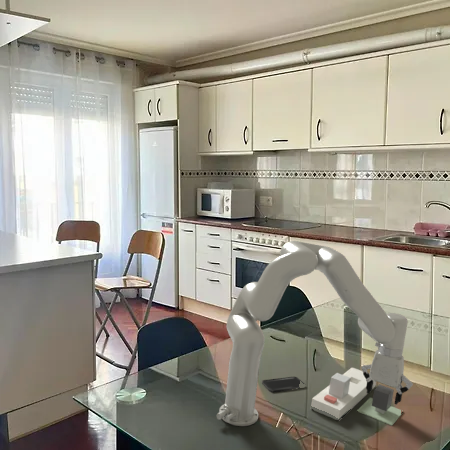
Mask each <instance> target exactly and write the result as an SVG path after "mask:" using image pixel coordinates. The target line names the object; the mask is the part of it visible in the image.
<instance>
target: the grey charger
mask: <svg viewBox="0 0 450 450" xmlns="http://www.w3.org/2000/svg"><path fill="white" fill-rule="evenodd" d="M329 385H330V388H329V394H331V395H333V396H336V397H338V398H341V399H343V398H344V397H345V396H346V395H347V394H348V391H349V385H350V377H347V376H344V375H343V374H341V373H339V372H336V373H335V374H334V375H332V376H331V377H330V382H329Z"/></svg>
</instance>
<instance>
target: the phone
mask: <svg viewBox="0 0 450 450" xmlns="http://www.w3.org/2000/svg"><path fill="white" fill-rule="evenodd" d="M300 381H301V382H302V383H303V384H305V382H303V381H302V380H301V379H299V378H298V377H297V376H289V377H288V376H287V377H279V378H270V379H269V378H268V379H264V380H262V381H261V384H262V385H263V386H264V387H265V388H266V389H267V391H268V392H270V393H274V394H275V393H280V392H287V391H288V390H289V391H293V390H292V389H296V388H300V387H299V384H300ZM296 390H297V389H296Z"/></svg>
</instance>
